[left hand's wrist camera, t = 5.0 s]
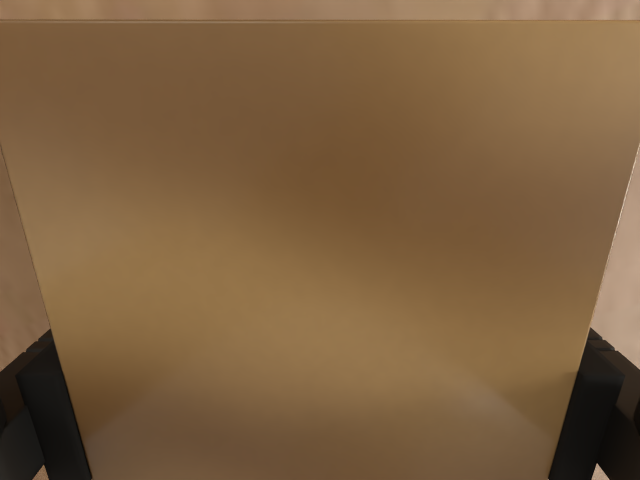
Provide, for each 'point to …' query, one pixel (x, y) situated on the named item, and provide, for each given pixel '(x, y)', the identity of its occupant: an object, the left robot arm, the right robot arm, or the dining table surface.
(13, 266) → the dining table surface
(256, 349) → the wide beam
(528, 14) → the dining table surface
